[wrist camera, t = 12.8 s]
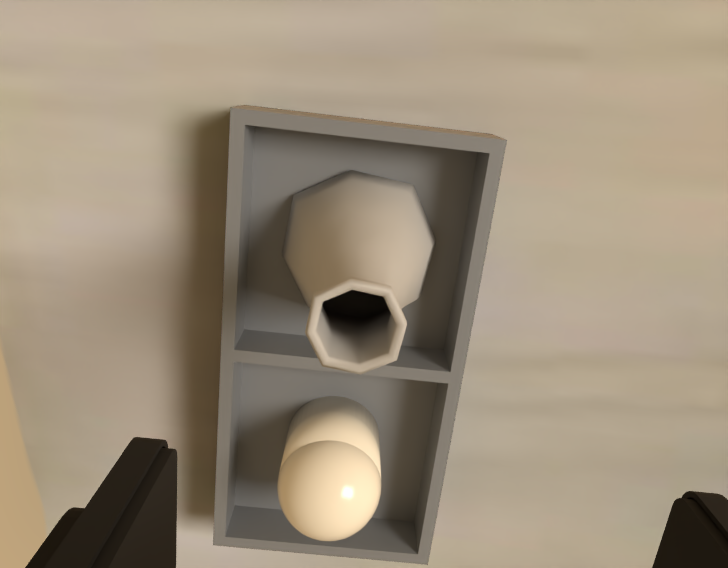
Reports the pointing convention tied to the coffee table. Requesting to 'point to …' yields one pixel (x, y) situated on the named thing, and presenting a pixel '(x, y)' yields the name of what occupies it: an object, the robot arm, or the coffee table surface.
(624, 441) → the coffee table surface
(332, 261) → the flask
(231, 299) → the tray
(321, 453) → the cream egg
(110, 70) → the coffee table surface
